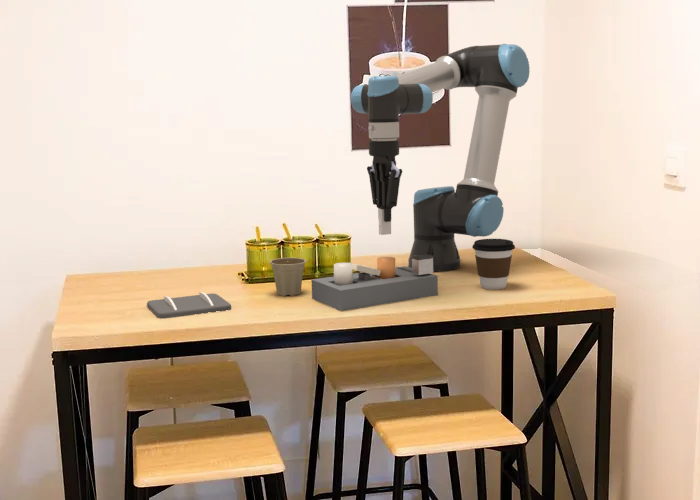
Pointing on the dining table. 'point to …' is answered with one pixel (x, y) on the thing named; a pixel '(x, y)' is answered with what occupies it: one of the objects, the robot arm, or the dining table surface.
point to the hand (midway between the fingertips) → (385, 234)
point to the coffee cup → (493, 262)
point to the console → (374, 289)
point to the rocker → (365, 269)
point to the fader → (422, 264)
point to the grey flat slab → (188, 305)
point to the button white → (343, 274)
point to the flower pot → (288, 275)
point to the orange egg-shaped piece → (386, 267)
